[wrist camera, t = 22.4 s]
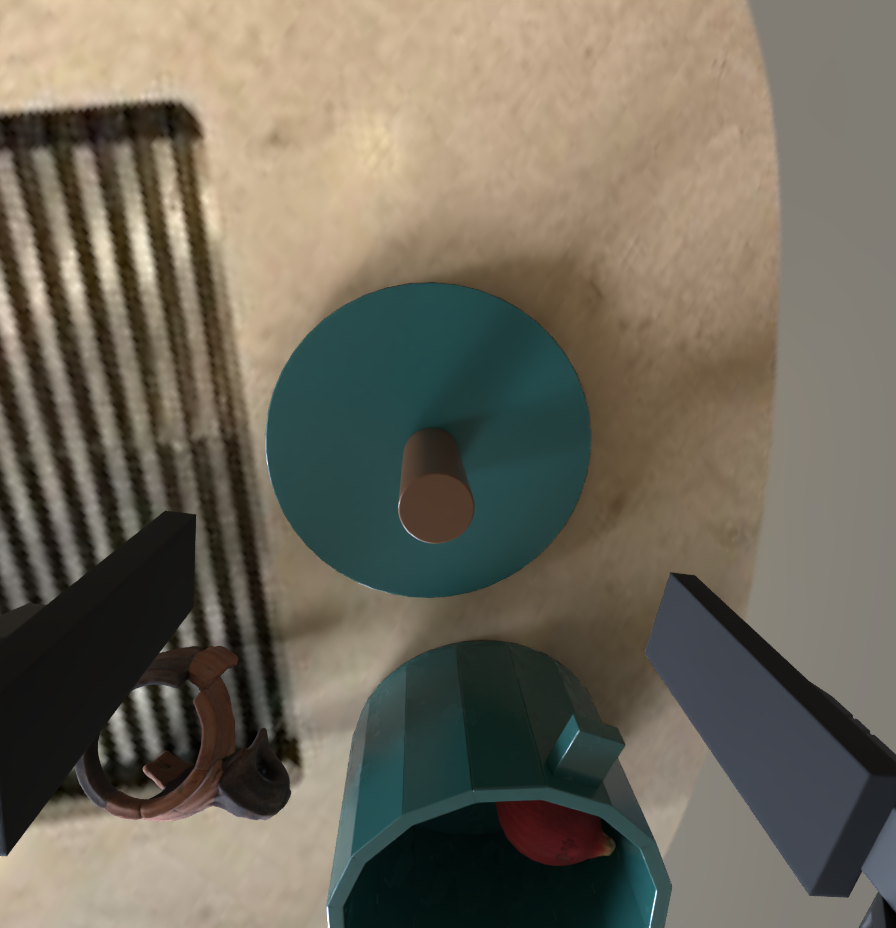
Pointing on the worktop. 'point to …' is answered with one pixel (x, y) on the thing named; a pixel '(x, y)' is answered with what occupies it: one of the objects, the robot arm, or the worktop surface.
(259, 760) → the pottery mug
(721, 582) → the worktop surface
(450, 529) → the lid
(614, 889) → the pot
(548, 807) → the onion
